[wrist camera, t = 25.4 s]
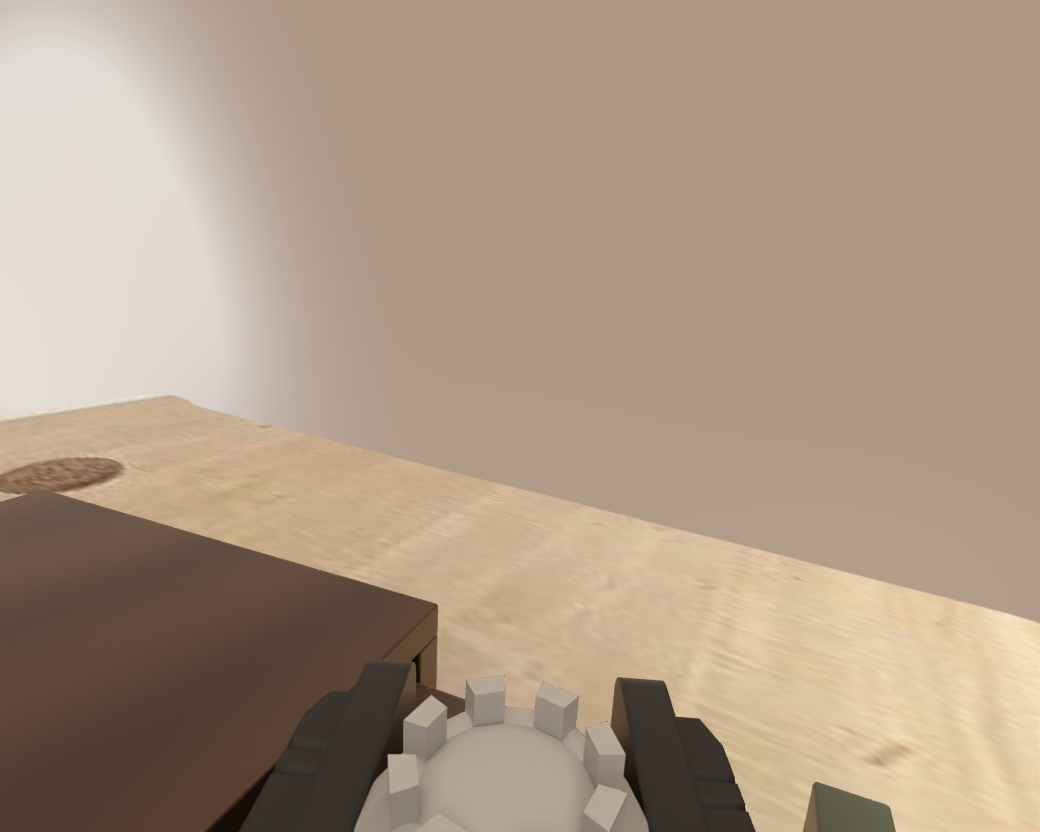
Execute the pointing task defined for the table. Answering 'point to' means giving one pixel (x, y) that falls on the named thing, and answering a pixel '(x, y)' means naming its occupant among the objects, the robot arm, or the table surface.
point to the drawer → (831, 812)
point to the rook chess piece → (503, 770)
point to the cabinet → (167, 666)
